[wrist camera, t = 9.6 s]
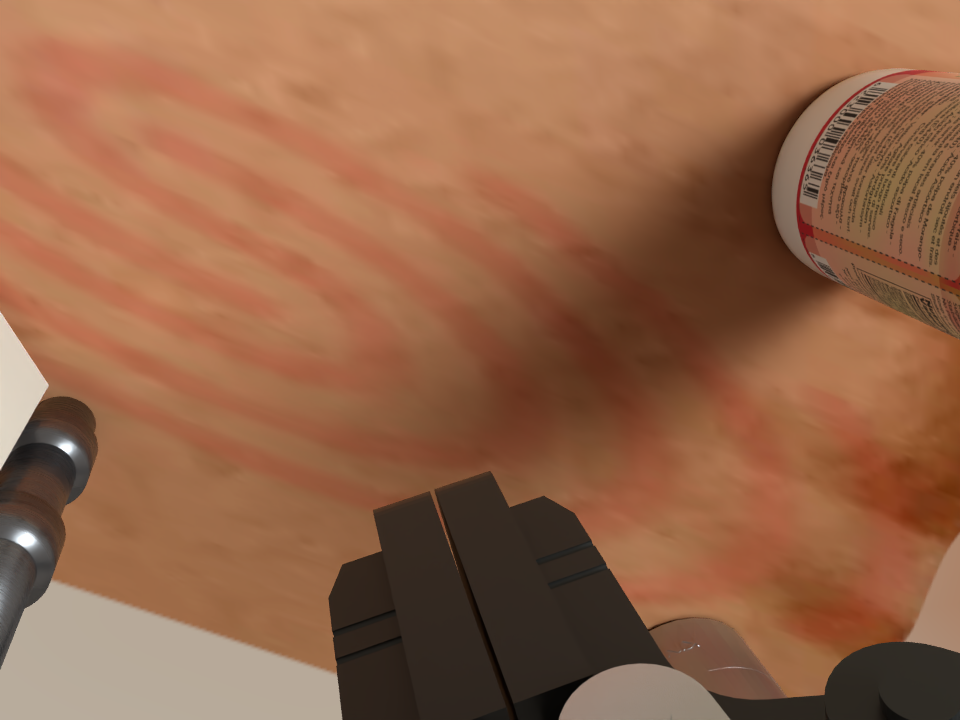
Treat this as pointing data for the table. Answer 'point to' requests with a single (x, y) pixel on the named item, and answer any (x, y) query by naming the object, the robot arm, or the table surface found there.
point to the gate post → (40, 502)
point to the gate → (16, 389)
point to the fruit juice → (879, 190)
